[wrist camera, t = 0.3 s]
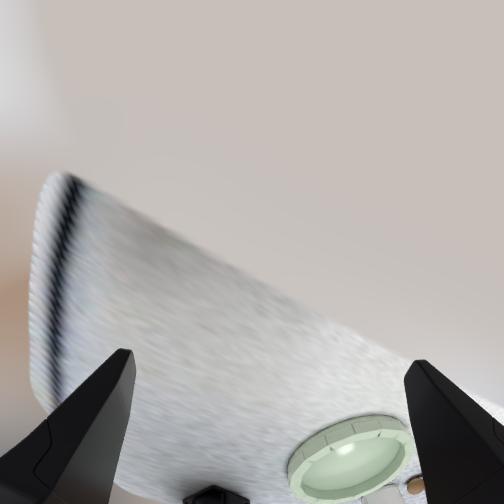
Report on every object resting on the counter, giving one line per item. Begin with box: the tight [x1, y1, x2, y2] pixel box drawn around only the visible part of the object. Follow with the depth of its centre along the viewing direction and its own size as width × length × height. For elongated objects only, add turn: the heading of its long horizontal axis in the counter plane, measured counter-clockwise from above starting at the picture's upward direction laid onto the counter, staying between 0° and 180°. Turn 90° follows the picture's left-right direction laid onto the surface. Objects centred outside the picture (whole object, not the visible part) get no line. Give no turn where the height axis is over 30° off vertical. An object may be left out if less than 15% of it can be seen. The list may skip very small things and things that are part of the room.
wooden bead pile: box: [407, 478, 425, 495], centre depth 33 cm, size 8×6×5 cm
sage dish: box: [288, 415, 414, 504], centre depth 30 cm, size 15×15×2 cm
